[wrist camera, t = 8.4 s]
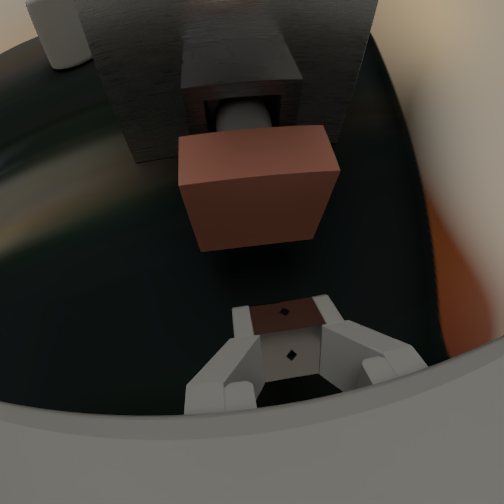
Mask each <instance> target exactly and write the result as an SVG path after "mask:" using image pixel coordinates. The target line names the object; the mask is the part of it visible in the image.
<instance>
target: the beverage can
mask: <svg viewBox="0 0 504 504" xmlns="http://www.w3.org/2000/svg"><path fill="white" fill-rule="evenodd" d="M26 7H27V9H28V12H29V14H30V17H31V19H32V22H33V24H34V27H35V29H36V31H37V34H38V37H39V39H40V41H41V44H42V46H43V48H44V51H45V53H46V55H47V57H48V60H49V62H50V64H51V66H52V68H54V69H65V68H71V67H74V66H77V65H80V64H82V63H84V62H86V61H88V60H90V59H91V58H93V57H92V54H91V51H90V48H89V46H88V43H87V40H86V37H85V34H84V31H83V28H82V25H81V22H80V19H79V16H78V13H77V10H76V7H75V4H74V0H26Z"/></svg>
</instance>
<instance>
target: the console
mask: <svg viewBox="0 0 504 504" xmlns="http://www.w3.org/2000/svg"><path fill="white" fill-rule="evenodd" d="M377 3H378V0H74V4H75V7H76V10H77V13H78V16H79V19H80V22H81V25H82V28H83V31H84V34H85V37H86V40H87V43H88V46H89V48H90V51H91V54H92V57H93V59H94V62H95V65H96V68H97V70H98V73H99V76H100V78H101V81H102V83H103V86H104V88H105V91H106V94H107V96H108V99H109V101H110V104H111V106H112V108H113V111H114V113H115V116H116V118H117V121H118V123H119V125H120V128H121V130H122V132H123V135H124V137H125V139H126V142H127V144H128V146H129V149H130V151H131V153H132V155H133V158H134V160H135V162H136V163H139V162H144V161H150V160H156V159H162V158H168V157H175V156H179V137H183V136H190V135H197V134H205V133H213V132H217V131H216V120H215V110H216V108H217V106H218V104H219V103H220V102H221V101H222V100H223V99H225V98H234V97H246V96H259V97H260V98H261V99H263V100H264V102H265V103H266V105H267V109H268V112H269V116H270V120H271V124H272V127H282V126H306V125H323V126H324V129H325V131H326V134H327V136H328V139H329V141H330V143H337V141H338V138H339V134H340V131H341V128H342V125H343V122H344V119H345V116H346V112H347V109H348V106H349V103H350V99H351V96H352V93H353V89H354V86H355V83H356V79H357V76H358V73H359V69H360V66H361V62H362V59H363V55H364V52H365V48H366V45H367V41H368V37H369V34H370V30H371V26H372V22H373V19H374V15H375V11H376V7H377Z"/></svg>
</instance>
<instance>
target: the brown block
mask: <svg viewBox="0 0 504 504" xmlns="http://www.w3.org/2000/svg"><path fill="white" fill-rule="evenodd" d="M215 120H216V131H217V132H213V133H205V134H197V135H190V136H183V137H179V164H178V186H179V189H180V192H181V195H182V198H183V201H184V204H185V207H186V210H187V213H188V216H189V219H190V222H191V225H192V228H193V231H194V234H195V236H196V239H197V242H198V245H199V248H200V251H201V252H206V251H214V250H222V249H231V248H239V247H248V246H256V245H265V244H273V243H282V242H291V241H299V240H308V239H313V237H314V234H315V232H316V230H317V227H318V225H319V222H320V220H321V218H322V215H323V213H324V210H325V208H326V205H327V203H328V200H329V198H330V195H331V193H332V190H333V188H334V185H335V183H336V180H337V178H338V175H339V173H340V168H339V165H338V162H337V160H336V157H335V154H334V152H333V149H332V146H331V144H330V141H329V139H328V136H327V134H326V131H325V129H324V126H323V125H306V126H282V127H272V124H271V120H270V116H269V112H268V109H267V105H266V103H265V102H264V100H263V99H261V98H260V97H259V96H246V97H234V98H225V99H223V100H222V101H221V102H220V103H219V104H218V106H217V108H216V110H215Z"/></svg>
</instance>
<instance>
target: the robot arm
mask: <svg viewBox="0 0 504 504" xmlns="http://www.w3.org/2000/svg"><path fill="white" fill-rule="evenodd" d="M232 316H233V327H234V338H231V339H229V340H228V341H227V342H226V343H225V345H224V346H223V347H222V348H221V349H220V350H219V351H218V352H217V353H216V354H215V355H214V356H213V358H212V359H211V360H210V361H209V362H208V363H207V364H206V365H205V366H204V367H203V368H202V369H201V370H200V372H199V373H198V374H197V375H196V376H195V377H194V378H193V379H192V380H191V381H190V382H189V383H188V384H187V385H186V396H185V408H184V415H165V416H128V415H103V414H87V413H75V412H65V411H57V410H49V409H41V408H35V407H28V406H22V405H17V404H11V403H6V402H1V401H0V504H504V335H503V336H501V337H499V338H497V339H495V340H493V341H491V342H489V343H486V344H484V345H482V346H480V347H478V348H475V349H473V350H471V351H469V352H466V353H463V354H461V355H459V356H456V357H454V358H451V359H449V360H446V361H443V362H441V363H438V364H435V365H433V366H430V367H428V366H427V365H426V363H425V362H424V361H423V360H422V358H421V357H420V356H419V354H418V353H417V352H416V351H415V349H414V348H413V347H412V346H411V345H409V344H406V343H404V342H401V341H399V340H396V339H394V338H391V337H389V336H386V335H384V334H381V333H379V332H376V331H374V330H371V329H369V328H367V327H364V326H362V325H359V324H357V323H354V322H352V321H350V320H347V321H344V320H343V318H342V316H341V315H340V313H339V312H338V310H337V309H336V307H335V306H334V304H333V303H332V301H331V299H330V298H329V296H328V295H326V294H325V295H320V296H315V297H309V298H304V299H298V300H292V301H286V302H277V303H268V304H260V305H251V306H241V307H234V308H232ZM317 373H319V374H320V375H321V376H322V377H324V378H325V379H326V380H328V381H329V382H331V383H332V384H333V385H335V386H336V387H337V388H339V389H340V390H342V391H343V392H342V393H338V394H334V395H329V396H325V397H320V398H315V399H310V400H305V401H299V402H294V403H288V404H282V405H276V406H269V407H262V408H257V405H256V399H257V397H258V395H259V394H260V392H261V390H262V388H263V386H264V384H265V382H270V381H276V380H281V379H287V378H292V377H299V376H305V375H311V374H317Z"/></svg>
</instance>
